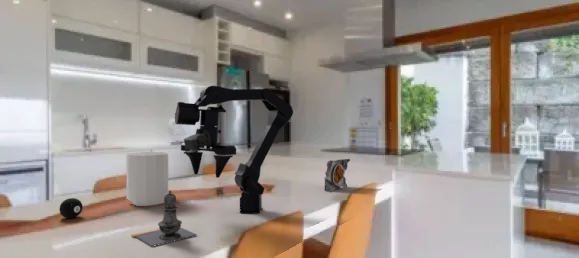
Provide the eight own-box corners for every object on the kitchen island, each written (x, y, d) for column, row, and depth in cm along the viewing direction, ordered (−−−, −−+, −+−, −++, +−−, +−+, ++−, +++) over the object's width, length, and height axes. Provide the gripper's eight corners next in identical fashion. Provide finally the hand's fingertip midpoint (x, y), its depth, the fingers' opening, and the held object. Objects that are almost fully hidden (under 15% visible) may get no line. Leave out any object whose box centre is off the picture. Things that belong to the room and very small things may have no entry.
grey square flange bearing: (332, 192, 152) (333, 161, 152) (324, 191, 155) (324, 161, 155) (350, 187, 164) (350, 158, 164) (341, 186, 167) (342, 158, 166)
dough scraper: (131, 236, 94) (131, 234, 93) (177, 226, 103) (177, 224, 103) (149, 247, 86) (149, 245, 86) (198, 235, 95) (198, 233, 95)
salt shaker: (181, 239, 90) (181, 192, 90) (156, 241, 89) (156, 193, 88) (182, 232, 96) (182, 187, 96) (159, 233, 94) (159, 188, 94)
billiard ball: (74, 214, 115) (74, 195, 115) (86, 216, 113) (86, 197, 113) (55, 218, 110) (55, 199, 110) (67, 221, 107) (67, 201, 107)
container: (143, 208, 125) (142, 156, 124) (118, 202, 132) (118, 154, 132) (176, 200, 137) (176, 153, 136) (152, 196, 144) (151, 151, 144)
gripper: (168, 123, 111) (165, 174, 111) (213, 126, 101) (210, 181, 101) (195, 125, 120) (192, 171, 120) (238, 127, 111) (235, 178, 111)
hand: (206, 175), depth 113 cm, fingers open, 9 cm apart
